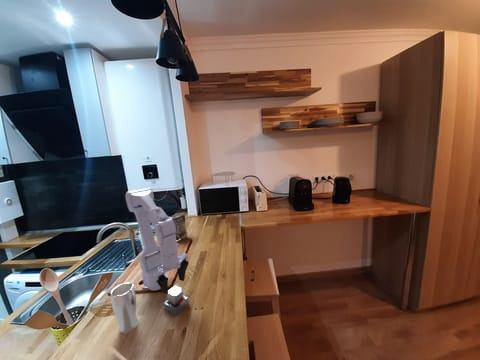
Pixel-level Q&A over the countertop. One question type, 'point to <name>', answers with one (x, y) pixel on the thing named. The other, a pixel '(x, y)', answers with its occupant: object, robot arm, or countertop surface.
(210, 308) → the countertop surface
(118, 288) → the white tall cup
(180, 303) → the jack base
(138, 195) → the robot arm
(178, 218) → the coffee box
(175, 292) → the grooved grey block
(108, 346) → the countertop surface
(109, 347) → the countertop surface
